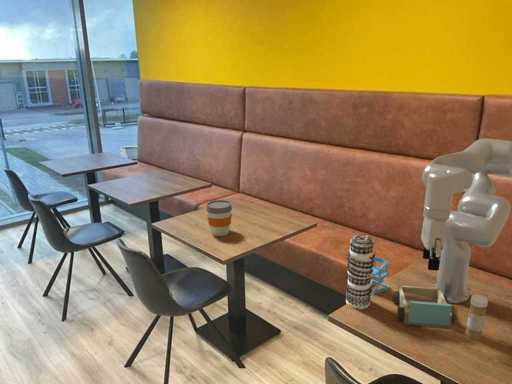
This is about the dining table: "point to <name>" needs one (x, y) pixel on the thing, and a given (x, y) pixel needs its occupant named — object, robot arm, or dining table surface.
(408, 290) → the cargo bed
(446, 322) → the tailgate
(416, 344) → the dining table surface
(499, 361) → the dining table surface
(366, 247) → the black white patterned cylinder
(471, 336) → the sprinkles bottle
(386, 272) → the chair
